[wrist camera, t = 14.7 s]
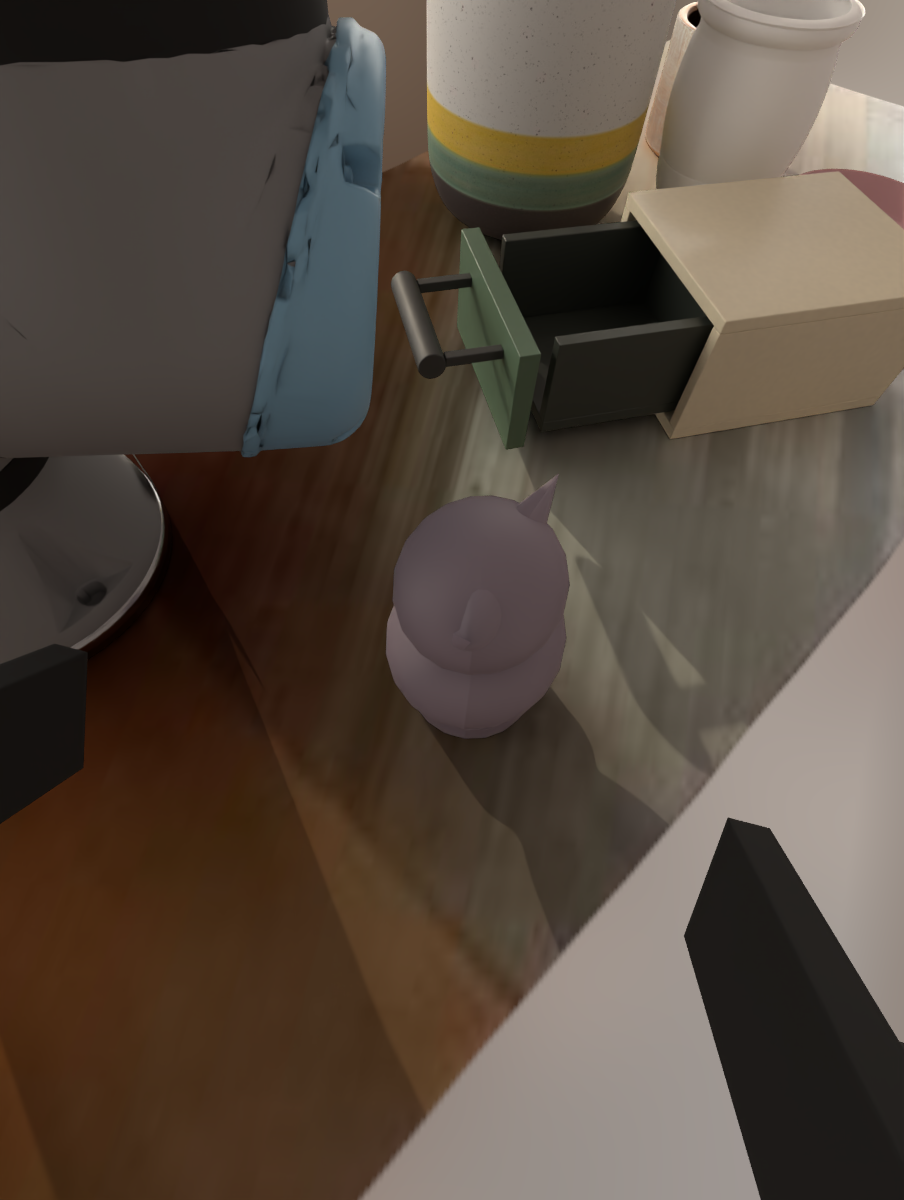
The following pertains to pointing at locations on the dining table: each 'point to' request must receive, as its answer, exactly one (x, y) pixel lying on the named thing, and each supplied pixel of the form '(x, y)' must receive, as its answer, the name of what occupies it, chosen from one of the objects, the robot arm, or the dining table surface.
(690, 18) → the planter
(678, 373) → the drawer
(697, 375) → the cabinet
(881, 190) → the plate
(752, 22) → the jar
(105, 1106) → the dining table surface
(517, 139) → the vase
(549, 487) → the cat figurine
